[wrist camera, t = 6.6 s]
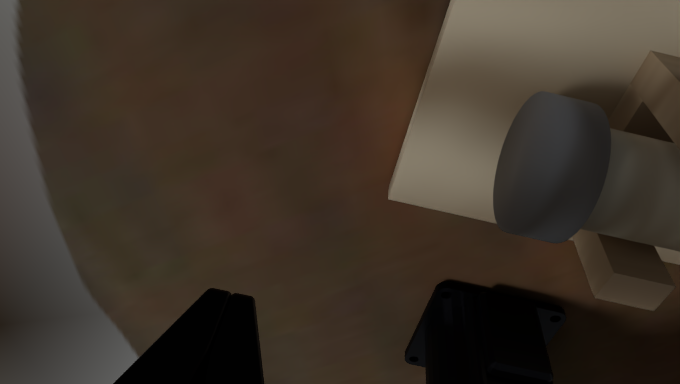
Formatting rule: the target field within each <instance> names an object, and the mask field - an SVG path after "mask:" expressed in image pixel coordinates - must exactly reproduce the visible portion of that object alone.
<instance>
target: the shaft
mask: <svg viewBox="0 0 680 384" xmlns="http://www.w3.org/2000/svg"><path fill="white" fill-rule="evenodd" d="M493 210H494V216H495V220H496V222H497V225H498V226H499V228H500V229H501V230H502V231H504V232H507V233H511V234H516V235H520V236H524V237H529V238H533V239H538V240H542V241H547V242H551V243H561V242H564V241H566V240H568V239H569V238H571V237H572V236H574V235H575V234H576V233H577V232H578V231H579V230H580V229H582V230H586V231H591V232H595V233H599V234H604V235H608V236H613V237H617V238H622V239H626V240H630V241H635V242H639V243H644V244H648V245H652V246H657V247H661V248H666V249H670V250H675V251H679V252H680V150H679V148H678V147H677V146H676V144H675V143H671V142H667V141H663V140H658V139H654V138H650V137H646V136H641V135H637V134H633V133H629V132H624V131H620V130H616V129H611V128H610V125H609V121H608V118H607V116H606V114H605V112H604V110H603V109H602V108H601V107H600V106H599V105H597V104H595V103H592V102H587V101H583V100H579V99H575V98H571V97H566V96H562V95H558V94H554V93H549V92H545V91H540V92H537V93H535V94H534V95H532V96H531V97H530V98H529V99H528V100H527V101H526V102H525V103H524V104H523V106H522V107H521V109H520V110H519V112H518V113H517V115H516V117H515V118H514V120H513V122H512V124H511V126H510V128H509V131H508V133H507V135H506V138H505V140H504V143H503V146H502V149H501V153H500V156H499V160H498V164H497V169H496V174H495V180H494V188H493Z"/></svg>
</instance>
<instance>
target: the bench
mask: <svg viewBox="0 0 680 384" xmlns="http://www.w3.org/2000/svg"><path fill="white" fill-rule="evenodd" d="M540 91H545V92H549V93H554V94H558V95H562V96H566V97H571V98H575V99H579V100H583V101H587V102H592V103H595V104H597V105H599V106H600V107H601V108H602V109H603V110H604V112H605V114H606V116H607V118H608V121H609V125H610V128H611V129H616V130H620V131H624V132H629V133H633V134H637V135H641V136H646V137H650V138H654V139H658V140H663V141H667V142H671V143H675V144H676V146H677V147H678V148H679V150H680V0H451V1H450V4H449V7H448V10H447V13H446V16H445V19H444V22H443V25H442V28H441V31H440V34H439V37H438V40H437V43H436V46H435V49H434V52H433V55H432V58H431V61H430V64H429V67H428V70H427V73H426V76H425V79H424V82H423V85H422V88H421V92H420V95H419V98H418V101H417V104H416V107H415V110H414V113H413V116H412V119H411V122H410V125H409V128H408V131H407V134H406V137H405V140H404V143H403V146H402V149H401V152H400V155H399V158H398V161H397V164H396V167H395V170H394V173H393V176H392V179H391V182H390V185H389V192H388V199H390V200H394V201H399V202H403V203H408V204H412V205H417V206H421V207H425V208H430V209H434V210H439V211H443V212H448V213H452V214H457V215H461V216H465V217H470V218H474V219H479V220H483V221H488V222H492V223H496V224H497V222H496V220H495V216H494V210H493V188H494V180H495V174H496V169H497V164H498V160H499V156H500V153H501V149H502V146H503V143H504V140H505V138H506V135H507V133H508V131H509V128H510V126H511V124H512V122H513V120H514V118H515V117H516V115H517V113H518V112H519V110H520V109H521V107H522V106H523V104H524V103H525V102H526V101H527V100H528V99H529V98H530V97H531V96H532V95H534V94H535V93H537V92H540ZM568 240H572V241H574V243H575V246H576V248H577V251H578V254H579V257H580V260H581V262H582V265H583V268H584V271H585V273H586V276H587V279H588V282H589V284H590V287H591V290H592V293H593V295H594V298H597V299H602V300H606V301H611V302H615V303H620V304H624V305H629V306H633V307H638V308H642V309H647V310H651V311H654V310H655V309H656V308H657V307H658V306H659V305H660V304H661V303H662V302H663V300H664V299H665V298H666V297H667V296H668V295H669V294H670V293H671V292H672V291H673V289H674V288H675V287H676V286H675V284H674V282H673V280H672V278H671V277H670V275H669V273H668V271H667V269H666V267H665V265H664V263H663V262H662V261H665V262H669V263H674V264H678V265H680V252H679V251H675V250H670V249H666V248H661V247H657V246H652V245H648V244H644V243H639V242H635V241H630V240H626V239H622V238H617V237H613V236H608V235H604V234H599V233H595V232H591V231H586V230H582V229H580V230H579V231H578V232H577V233H576V234H575V235H574V236H572V237H571V238H569V239H568Z"/></svg>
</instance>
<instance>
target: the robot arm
mask: <svg viewBox="0 0 680 384" xmlns="http://www.w3.org/2000/svg"><path fill="white" fill-rule="evenodd" d="M565 320H566V316H565V312H564V309H563V308H562V307H559V306H555V305H551V304H546V303H542V302H537V301H533V300H528V299H523V298H519V297H514V296H510V295H505V294H501V293H496V292H492V291H487V290H483V289H478V288H474V287H469V286H464V285H460V284H455V283H451V282H441V283H439V284H438V285H437V286H436V288H435V290H434V292H433V294H432V296H431V298H430V300H429V302H428V304H427V306H426V309H425V311H424V313H423V315H422V317H421V319H420V321H419V323H418V325H417V327H416V330H415V332H414V334H413V336H412V338H411V340H410V342H409V344H408V346H407V348H406V351H405V361H406V362H407V363H409V364H412V365H417V366H421V367H426V384H553V381H552V379H553V373H552V369H551V365H550V360H549V356H548V352H547V348H546V346H547V344H548V343H549V342H550V340H551V339H552V338H553V336H554V335H555V334H556V333H557V331H558V330H559V329H560V327H561V326H562V325H563V323H564V322H565ZM113 384H264V377H263V368H262V360H261V351H260V342H259V333H258V324H257V315H256V307H255V300H254V298H253V297H252V296H248V295H243V294H239V293H234V294H232V295H231V293H230V292H228V291H225V290H220V289H215V288H210V289H208V290H207V291H206V292H205V293H204V294H203V295H202V296H201V297H200V298H199V299H198V300H197V301H196V302H195V303H194V304H193V305H192V306H191V307H190V308H189V309H188V310H187V311H186V312H185V313H184V314H183V315H182V316H181V317H180V318H179V319H178V320H177V321H176V322H175V323H174V324H173V325H172V326H171V327H170V328H169V329H168V330H167V331H166V332H165V333H164V334H162V335H161V336H160V337H159V338H158V339H157V340H156V341H155V342H154V343H153V344H152V345H151V346H150V347H149V348H148V349H147V350H146V351H145V352H144V353H143V354H142V355H141V356H140V357H139V358H138V359H137V361H135V363H133V365H131V366H130V367H129V368H128V370H126V371H125V372H124V373H123V375H121V376H120V377H119V378H118V379H117V380H116V381H115V383H113Z"/></svg>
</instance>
